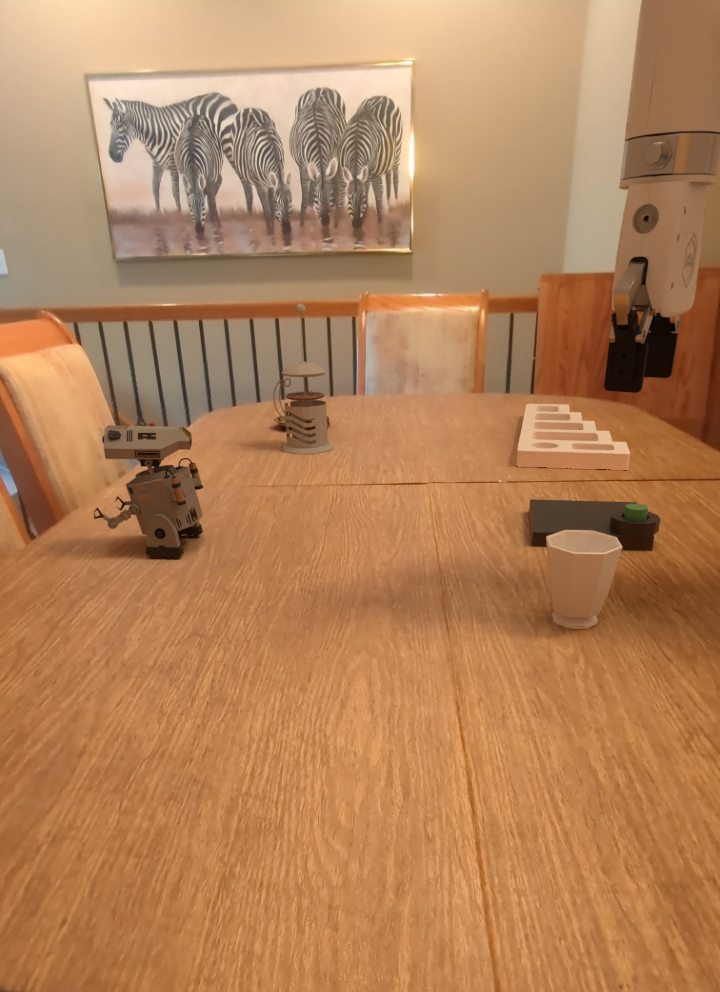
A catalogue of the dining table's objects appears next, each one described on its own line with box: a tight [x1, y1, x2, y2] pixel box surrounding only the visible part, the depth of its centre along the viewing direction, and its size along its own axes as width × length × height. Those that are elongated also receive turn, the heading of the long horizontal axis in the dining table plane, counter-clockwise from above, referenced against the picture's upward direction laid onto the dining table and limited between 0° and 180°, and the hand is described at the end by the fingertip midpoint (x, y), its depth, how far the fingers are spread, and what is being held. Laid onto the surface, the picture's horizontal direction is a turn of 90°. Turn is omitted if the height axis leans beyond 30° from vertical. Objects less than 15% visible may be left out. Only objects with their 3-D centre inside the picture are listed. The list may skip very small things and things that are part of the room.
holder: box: [515, 403, 631, 471], centre depth 144 cm, size 45×18×3 cm, turn 167°
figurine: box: [93, 422, 204, 560], centre depth 92 cm, size 9×12×15 cm
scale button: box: [624, 503, 649, 521], centre depth 90 cm, size 3×3×2 cm
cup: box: [546, 530, 623, 630], centre depth 73 cm, size 7×10×8 cm
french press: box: [272, 303, 334, 455], centre depth 138 cm, size 10×12×25 cm
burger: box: [273, 389, 331, 430], centre depth 159 cm, size 12×12×8 cm
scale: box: [528, 498, 661, 552], centre depth 96 cm, size 15×14×4 cm
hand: (638, 383), depth 70 cm, fingers open, 9 cm apart
